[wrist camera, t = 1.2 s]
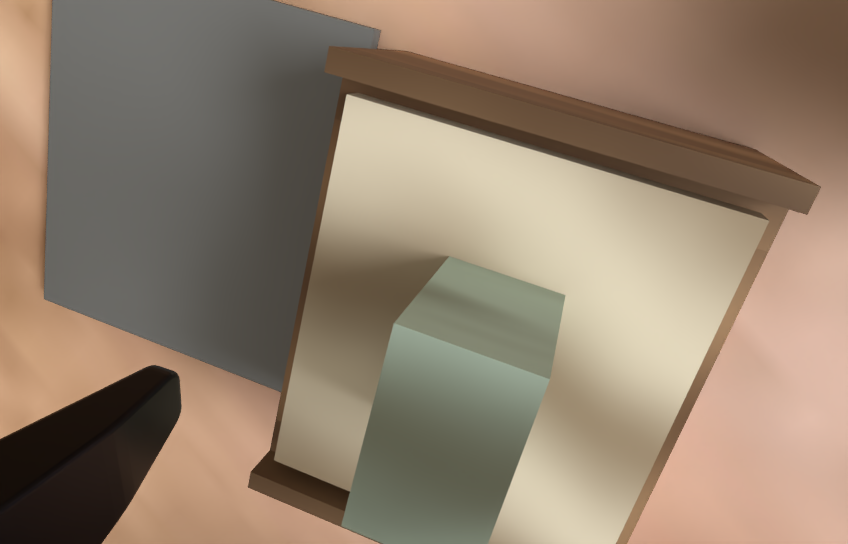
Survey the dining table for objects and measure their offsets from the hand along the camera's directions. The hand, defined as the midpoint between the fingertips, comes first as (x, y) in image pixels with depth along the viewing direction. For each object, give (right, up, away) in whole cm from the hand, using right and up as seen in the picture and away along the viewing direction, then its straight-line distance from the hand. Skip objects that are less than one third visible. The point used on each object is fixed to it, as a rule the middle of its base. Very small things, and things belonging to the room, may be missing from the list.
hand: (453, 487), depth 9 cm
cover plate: (+1, +1, +8) cm, 8 cm away
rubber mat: (-9, +7, +15) cm, 18 cm away
